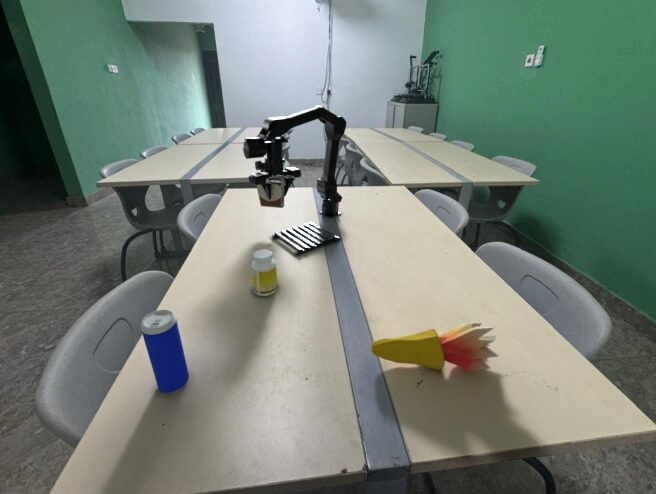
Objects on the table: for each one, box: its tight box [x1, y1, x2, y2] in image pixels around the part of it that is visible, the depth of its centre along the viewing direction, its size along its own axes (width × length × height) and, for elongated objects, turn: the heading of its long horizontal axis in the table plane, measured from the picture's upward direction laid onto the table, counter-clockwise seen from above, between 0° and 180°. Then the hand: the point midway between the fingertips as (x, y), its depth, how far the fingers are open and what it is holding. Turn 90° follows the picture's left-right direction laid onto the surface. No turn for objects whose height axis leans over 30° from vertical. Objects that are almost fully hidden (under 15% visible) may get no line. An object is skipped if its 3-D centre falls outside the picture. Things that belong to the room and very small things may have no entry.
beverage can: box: [140, 309, 190, 394], centre depth 55 cm, size 5×5×15 cm
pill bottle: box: [250, 249, 278, 297], centre depth 82 cm, size 6×6×11 cm
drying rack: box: [271, 221, 341, 256], centre depth 112 cm, size 18×16×2 cm
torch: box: [370, 321, 501, 372], centre depth 63 cm, size 8×8×25 cm
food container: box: [255, 177, 286, 209], centre depth 118 cm, size 12×6×10 cm, turn 66°
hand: (276, 197), depth 118 cm, fingers closed on food container, 6 cm apart
